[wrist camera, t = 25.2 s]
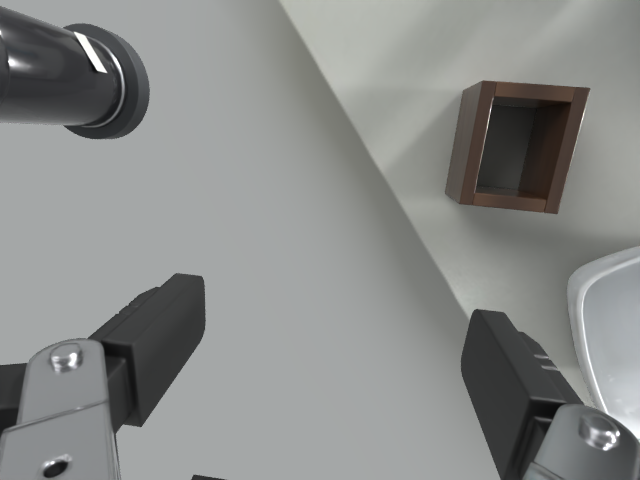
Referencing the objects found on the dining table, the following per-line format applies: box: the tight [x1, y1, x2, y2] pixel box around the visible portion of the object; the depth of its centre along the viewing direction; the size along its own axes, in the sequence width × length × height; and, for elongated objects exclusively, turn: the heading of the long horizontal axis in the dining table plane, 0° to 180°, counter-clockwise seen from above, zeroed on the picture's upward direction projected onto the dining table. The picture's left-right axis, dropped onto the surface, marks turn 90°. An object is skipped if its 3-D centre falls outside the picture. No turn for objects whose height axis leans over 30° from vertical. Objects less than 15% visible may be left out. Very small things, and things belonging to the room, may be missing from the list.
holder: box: [445, 80, 590, 214], centre depth 37 cm, size 9×11×7 cm
